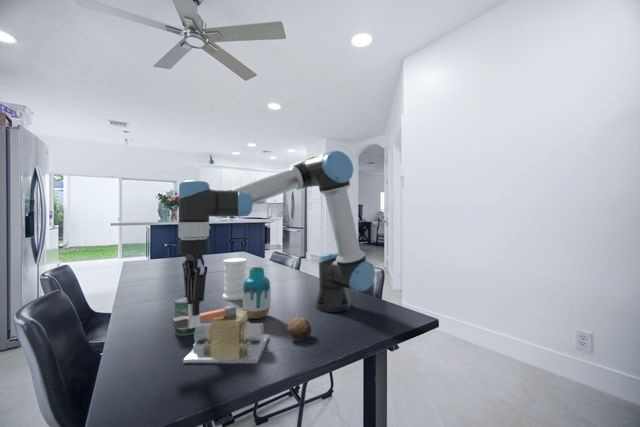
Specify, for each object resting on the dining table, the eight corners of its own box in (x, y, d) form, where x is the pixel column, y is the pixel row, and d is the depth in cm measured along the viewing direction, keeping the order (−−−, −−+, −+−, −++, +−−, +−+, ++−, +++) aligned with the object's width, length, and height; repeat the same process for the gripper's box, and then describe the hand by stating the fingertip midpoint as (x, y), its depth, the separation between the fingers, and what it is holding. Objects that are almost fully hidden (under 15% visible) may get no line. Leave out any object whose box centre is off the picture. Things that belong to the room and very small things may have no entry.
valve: (268, 338, 88) (268, 307, 88) (257, 363, 73) (257, 326, 73) (206, 337, 88) (206, 307, 88) (183, 363, 73) (183, 325, 73)
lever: (233, 312, 83) (233, 304, 83) (238, 315, 80) (238, 307, 80) (172, 326, 72) (172, 317, 72) (174, 331, 70) (174, 321, 70)
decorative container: (229, 292, 139) (229, 257, 139) (251, 293, 137) (251, 258, 138) (218, 299, 128) (218, 261, 128) (241, 300, 126) (241, 262, 126)
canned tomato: (175, 328, 96) (175, 296, 96) (200, 324, 99) (200, 294, 99) (173, 337, 88) (173, 303, 88) (200, 333, 91) (200, 300, 92)
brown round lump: (287, 321, 93) (293, 310, 90) (308, 329, 94) (315, 318, 91) (281, 342, 86) (287, 330, 83) (304, 350, 87) (311, 339, 84)
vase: (264, 324, 99) (264, 271, 99) (237, 321, 101) (237, 270, 101) (274, 313, 110) (274, 266, 110) (250, 311, 112) (250, 265, 112)
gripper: (217, 238, 71) (217, 329, 70) (200, 236, 80) (200, 316, 80) (186, 240, 66) (186, 338, 65) (172, 238, 75) (172, 323, 75)
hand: (194, 326), depth 73 cm, fingers closed
